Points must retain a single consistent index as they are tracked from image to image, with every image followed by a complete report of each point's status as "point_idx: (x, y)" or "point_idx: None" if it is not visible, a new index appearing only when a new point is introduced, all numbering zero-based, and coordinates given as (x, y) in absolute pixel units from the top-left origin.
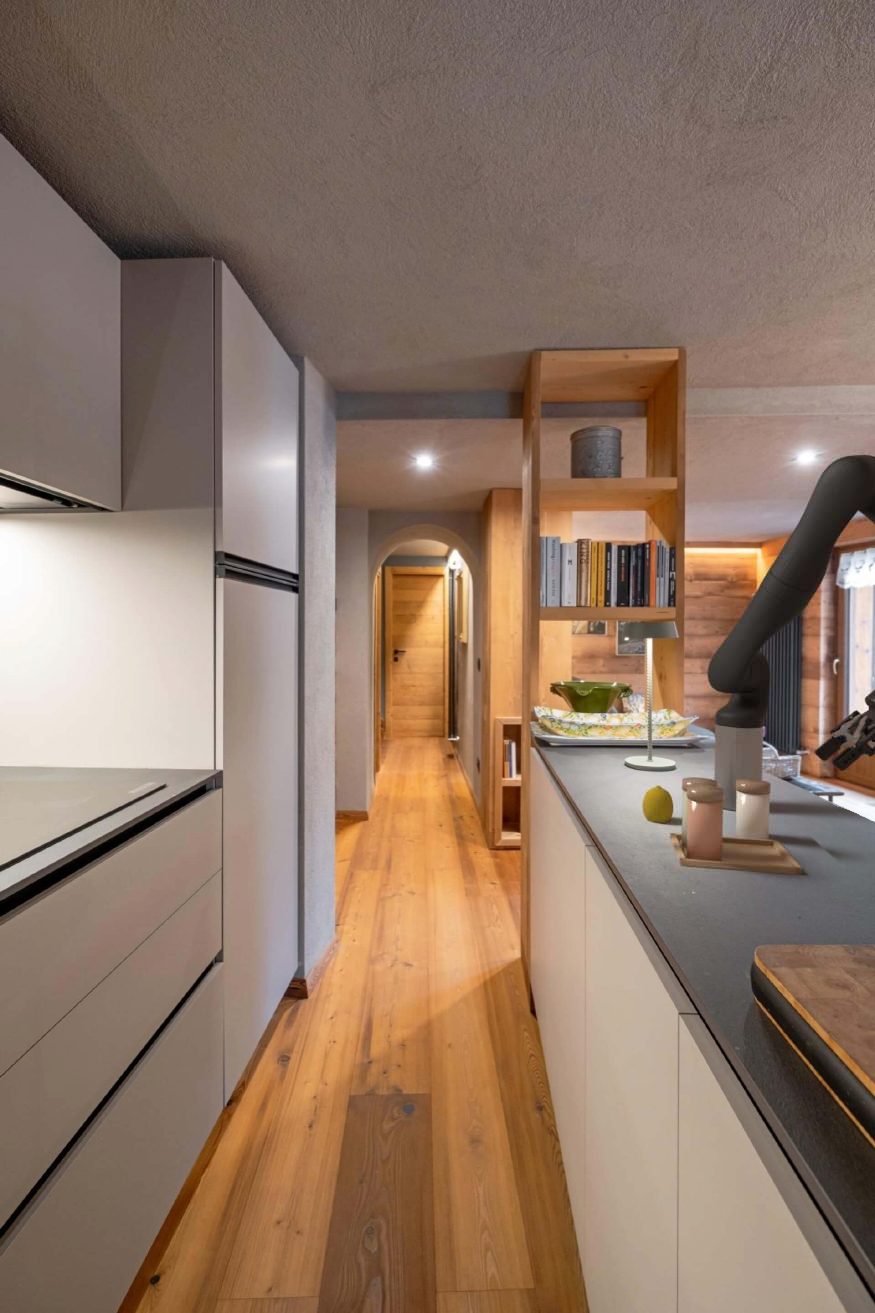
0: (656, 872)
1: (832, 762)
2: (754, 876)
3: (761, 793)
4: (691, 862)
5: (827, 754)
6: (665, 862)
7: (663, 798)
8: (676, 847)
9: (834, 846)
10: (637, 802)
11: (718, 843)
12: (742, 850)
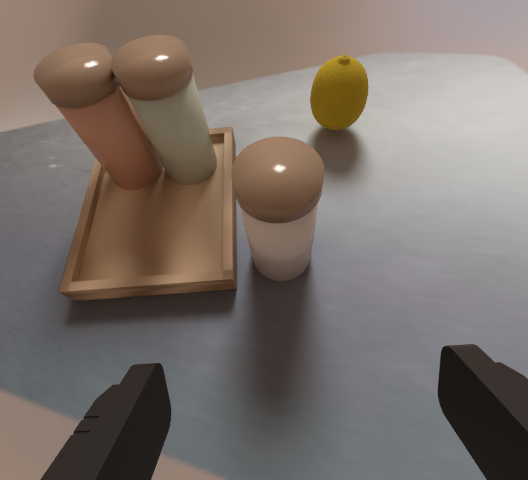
0: None
1: (141, 364)
2: None
3: (236, 197)
4: None
5: (467, 424)
6: None
7: (319, 83)
8: None
9: (336, 435)
10: (495, 97)
11: (100, 163)
12: (185, 220)
